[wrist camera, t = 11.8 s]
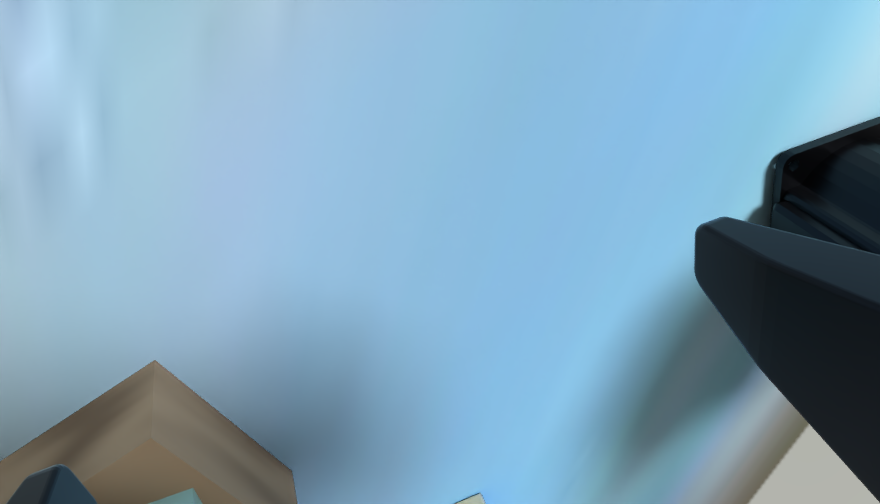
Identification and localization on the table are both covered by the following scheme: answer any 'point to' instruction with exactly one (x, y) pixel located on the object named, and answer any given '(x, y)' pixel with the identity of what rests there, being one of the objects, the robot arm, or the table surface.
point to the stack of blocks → (473, 500)
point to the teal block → (180, 498)
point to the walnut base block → (154, 449)
